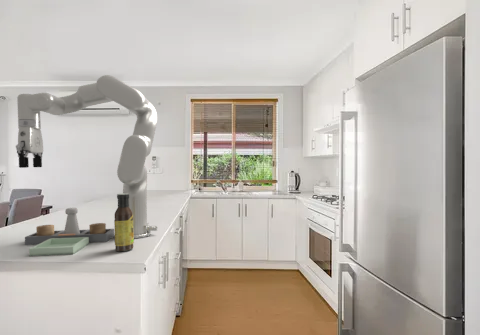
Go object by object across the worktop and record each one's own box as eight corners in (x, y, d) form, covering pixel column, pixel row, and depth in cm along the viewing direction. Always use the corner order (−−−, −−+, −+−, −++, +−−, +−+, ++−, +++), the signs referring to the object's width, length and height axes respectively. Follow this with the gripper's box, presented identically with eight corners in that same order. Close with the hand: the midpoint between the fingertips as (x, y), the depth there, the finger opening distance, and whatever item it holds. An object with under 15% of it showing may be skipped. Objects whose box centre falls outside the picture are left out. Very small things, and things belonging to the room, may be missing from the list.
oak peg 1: (57, 239, 126) (56, 224, 126) (49, 242, 120) (49, 227, 120) (41, 239, 126) (41, 225, 126) (33, 243, 120) (33, 228, 120)
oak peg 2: (107, 237, 129) (107, 222, 129) (103, 240, 123) (102, 225, 123) (92, 237, 128) (92, 223, 128) (87, 241, 122) (87, 226, 122)
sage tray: (88, 243, 118) (88, 237, 118) (73, 254, 104) (73, 246, 104) (50, 245, 117) (50, 238, 117) (29, 256, 103) (29, 248, 103)
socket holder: (114, 235, 131) (114, 227, 131) (106, 241, 121) (106, 233, 121) (39, 238, 128) (38, 230, 127) (24, 244, 118) (24, 236, 117)
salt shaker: (72, 242, 121) (72, 209, 121) (60, 241, 122) (59, 208, 122) (83, 238, 127) (82, 207, 126) (71, 238, 128) (70, 206, 127)
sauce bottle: (136, 250, 108) (135, 193, 108) (117, 253, 105) (116, 195, 104) (130, 246, 114) (129, 192, 113) (113, 249, 110) (112, 193, 110)
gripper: (27, 122, 117) (28, 167, 117) (50, 127, 134) (51, 166, 134) (5, 122, 116) (7, 167, 116) (31, 127, 133) (33, 167, 133)
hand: (31, 167), depth 125 cm, fingers open, 9 cm apart
